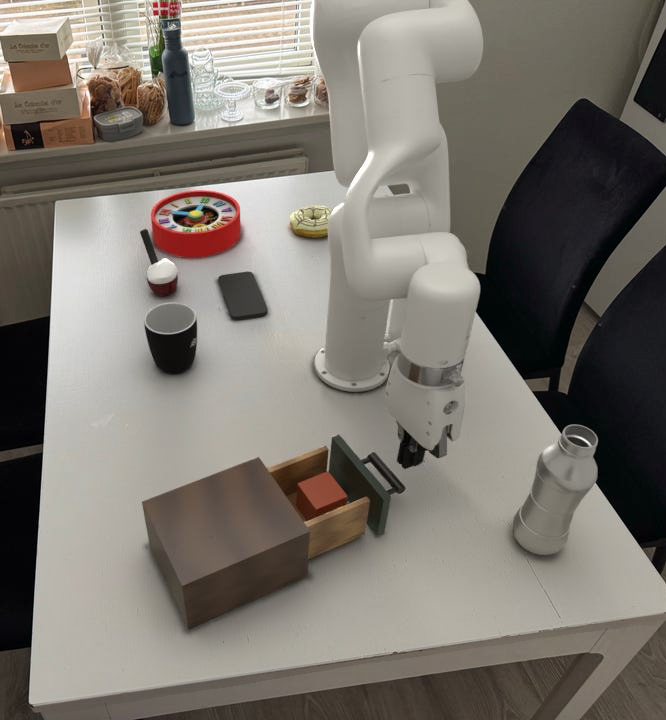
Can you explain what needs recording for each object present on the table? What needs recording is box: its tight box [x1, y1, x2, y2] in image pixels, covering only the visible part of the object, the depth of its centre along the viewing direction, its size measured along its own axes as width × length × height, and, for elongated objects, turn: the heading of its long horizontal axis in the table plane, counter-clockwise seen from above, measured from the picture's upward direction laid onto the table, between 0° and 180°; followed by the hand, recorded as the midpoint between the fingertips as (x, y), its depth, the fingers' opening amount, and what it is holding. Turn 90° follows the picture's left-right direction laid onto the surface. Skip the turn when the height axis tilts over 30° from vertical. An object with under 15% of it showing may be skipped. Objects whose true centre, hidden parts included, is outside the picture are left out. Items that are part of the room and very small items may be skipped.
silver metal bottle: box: [512, 424, 599, 556], centre depth 84 cm, size 6×7×20 cm
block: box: [296, 470, 348, 521], centre depth 92 cm, size 5×5×5 cm
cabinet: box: [141, 456, 310, 630], centre depth 88 cm, size 17×13×10 cm
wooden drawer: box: [266, 434, 407, 560], centre depth 92 cm, size 20×12×8 cm, turn 113°
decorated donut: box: [289, 204, 334, 238], centre depth 154 cm, size 10×11×4 cm
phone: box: [217, 270, 269, 320], centre depth 137 cm, size 7×1×15 cm
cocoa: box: [139, 228, 179, 297], centre depth 137 cm, size 10×6×12 cm, turn 12°
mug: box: [143, 302, 198, 375], centre depth 121 cm, size 12×9×10 cm
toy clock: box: [150, 189, 242, 259], centre depth 155 cm, size 20×6×20 cm
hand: (409, 462), depth 95 cm, fingers closed
